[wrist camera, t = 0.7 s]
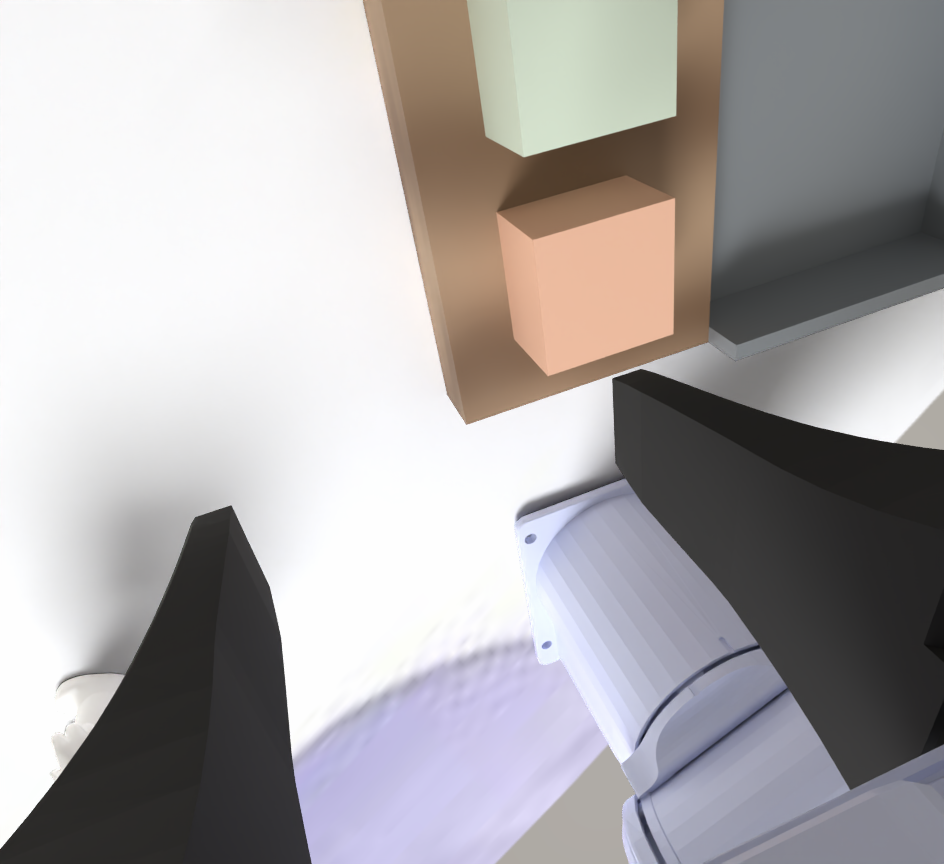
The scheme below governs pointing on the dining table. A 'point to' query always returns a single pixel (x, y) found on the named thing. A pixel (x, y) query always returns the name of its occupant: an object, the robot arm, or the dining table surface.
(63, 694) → the flower shoulder figurine
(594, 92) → the tile sage
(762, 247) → the tray
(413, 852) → the dining table surface
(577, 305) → the tile terracotta
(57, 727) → the dining table surface
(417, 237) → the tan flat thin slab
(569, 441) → the dining table surface
